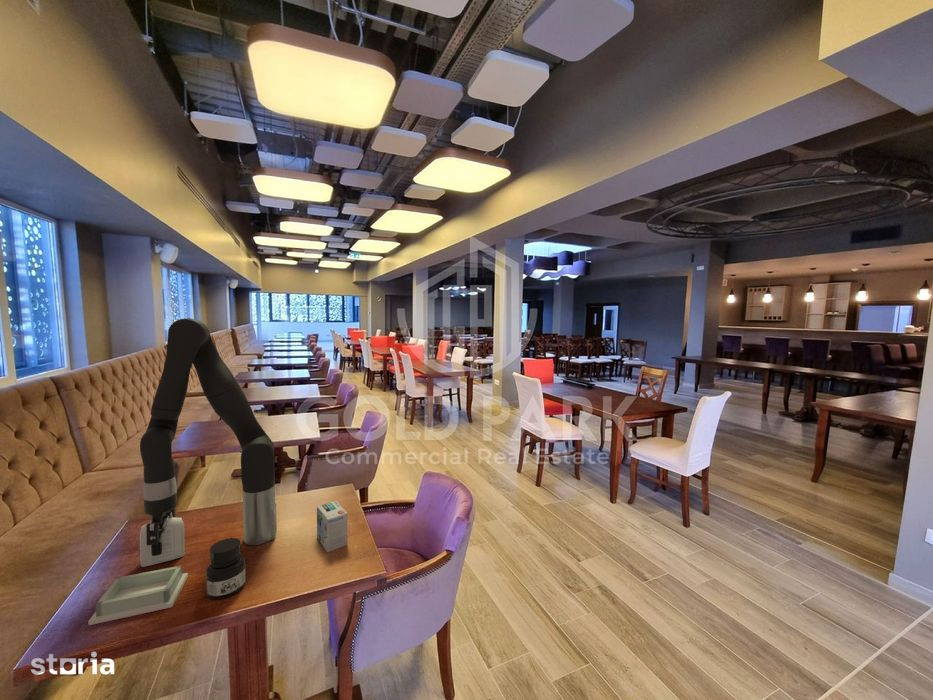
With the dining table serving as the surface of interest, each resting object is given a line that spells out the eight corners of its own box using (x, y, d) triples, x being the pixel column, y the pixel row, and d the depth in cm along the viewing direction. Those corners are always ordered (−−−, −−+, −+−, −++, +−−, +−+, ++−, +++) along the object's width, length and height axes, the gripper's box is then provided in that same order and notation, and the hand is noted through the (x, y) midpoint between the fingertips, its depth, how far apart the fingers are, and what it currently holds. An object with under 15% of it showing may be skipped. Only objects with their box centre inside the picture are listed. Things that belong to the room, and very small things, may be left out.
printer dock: (187, 576, 104) (187, 562, 103) (172, 607, 92) (171, 591, 92) (114, 590, 98) (113, 576, 97) (88, 625, 86) (87, 609, 86)
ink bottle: (204, 606, 93) (203, 560, 92) (204, 585, 100) (202, 543, 99) (249, 590, 99) (248, 547, 98) (245, 572, 106) (244, 531, 105)
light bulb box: (316, 537, 123) (315, 505, 123) (336, 530, 128) (336, 500, 127) (327, 553, 115) (326, 519, 114) (348, 545, 119) (348, 512, 119)
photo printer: (185, 550, 115) (184, 511, 114) (184, 557, 111) (182, 518, 110) (141, 561, 109) (139, 521, 108) (139, 569, 106) (137, 528, 105)
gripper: (167, 502, 104) (169, 558, 105) (184, 481, 117) (185, 531, 118) (133, 507, 101) (135, 563, 102) (154, 485, 114) (156, 535, 115)
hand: (162, 546), depth 110 cm, fingers open, 8 cm apart
